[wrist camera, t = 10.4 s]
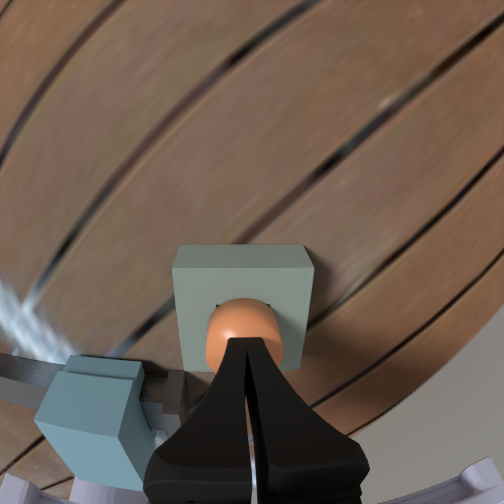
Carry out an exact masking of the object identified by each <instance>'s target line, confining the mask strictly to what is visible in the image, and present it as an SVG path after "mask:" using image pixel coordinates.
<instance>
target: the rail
mask: <svg viewBox="0 0 504 504" xmlns="http://www.w3.org/2000/svg"><path fill="white" fill-rule="evenodd" d="M64 367H65V365H60V364H54V363H48V362H42V361H36V360H31V359H26V358H20V357H16V356H11V355H6V354H2V353H0V399H2V400H5V401H8V402H11V403H15V404H18V405H22V406H25V407H29V408H33V409H37V410H39V408H40V405H41V403H42V401H43V399H44V397H45V395H46V393H47V391H48V389H49V387H50V385H51V383H52V381H53V379H54V377H55V375H56V373H57V371H61V372H62V370H63V368H64ZM139 401H140V404H141V407H142V409H143V412H144V415H145V418H146V421H147V424H148V427H149V429H156V430H166V432H167V435H168V438H170V437H171V436H172V435H173V434H174V433H175V432H176V430H177V429H178V428H179V427H180V426H181V425H182V424H183V423H184V422H185V421H186V420H187V418H188V417H189V416H190V413H191V407H190V401H189V395H188V389H187V383H186V376H185V371H180V370H169V373H168V375H153V374H145V376H144V380H143V384H142V388H141V392H140V396H139Z"/></svg>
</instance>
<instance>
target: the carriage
mask: <svg viewBox="0 0 504 504" xmlns="http://www.w3.org/2000/svg"><path fill="white" fill-rule="evenodd" d="M144 376H145V374H144V370H143V366H142V362H139V361H126V360H114V359H103V358H94V357H85V356H76V355H70V357H69V359H68V361H67V363H66V365H65V367H64V368H63V370H62V372H61V371H57V373H56V375H55V377H54V379H53V381H52V383H51V385H50V387H49V389H48V391H47V393H46V395H45V397H44V399H43V401H42V403H41V405H40V408H39V410H38V412H37V414H36V416H35V418H34V421H35V423H36V424H37V426H38V427H39V429H40V430H41V431H42V433H43V434H44V436H45V437H46V438H47V440H48V441H49V443H50V444H51V445H52V447H53V448H54V449H55V451H56V452H57V453H58V454H59V456H60V457H61V458H62V459H63V461H64V462H65V463H66V464H67V466H68V467H69V468H70V469H71V471H72V472H73V473H74V474H75V475H76V476H77V478H78V479H80V480H84V481H88V482H92V483H97V484H102V485H107V486H112V487H117V488H123V489H129V490H135V491H142V492H143V481H144V475H145V471H146V468H147V465H148V463H149V460H150V458H151V456H152V454H153V452H154V451H155V443H154V442H155V436H156V429H149V427H148V424H147V421H146V418H145V415H144V412H143V409H142V407H141V404H140V401H139V396H140V392H141V388H142V384H143V380H144Z"/></svg>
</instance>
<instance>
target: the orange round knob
mask: <svg viewBox="0 0 504 504" xmlns="http://www.w3.org/2000/svg"><path fill="white" fill-rule="evenodd" d="M230 337H261V338H263V340H264V342H265V345H266V347H267V349H268V351H269V353H270V355H271V357H272V359H273V360H274V362H275V364H276V365H277V367H279V366H280V364H281V362H282V360H283V356H284V350H283V345H282V340H281V335H280V331H279V326H278V321H277V318H276V315H275V313H274V312H273V310H272V309H271V308H270V307H269V306H267V305H266V304H265V303H263V302H261V301H258V300H255V299H250V298H237V299H232V300H229V301H227V302H224V303H223V304H221V305H219V306H218V307H217V308H216V309H215V310H214V311H213V312H212V314H211V316H210V318H209V322H208V330H207V342H206V361H207V364H208V365H209V367H210V368H211V370H212V371H213V372H214V373H217V371H218V369H219V366H220V364H221V362H222V359H223V356H224V353H225V350H226V346H227V340H228V339H229V338H230Z"/></svg>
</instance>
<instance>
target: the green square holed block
mask: <svg viewBox="0 0 504 504" xmlns="http://www.w3.org/2000/svg"><path fill="white" fill-rule="evenodd" d="M172 273H173V284H174V294H175V303H176V312H177V320H178V328H179V336H180V344H181V351H182V358H183V365H184V371H212V370H211V368H210V367H209V365H208V364H207V361H206V342H207V330H208V322H209V318H210V316H211V314H212V312H213V311H214V310H215V309H216V308H217V307H218V306H219V305H221V304H223V303H224V302H227V301H229V300H232V299H237V298H250V299H255V300H258V301H261V302H263V303H265V304H266V305H267V306H269V307H270V308H271V309H272V310H273V312H274V313H275V315H276V318H277V321H278V326H279V331H280V335H281V340H282V345H283V350H284V356H283V360H282V362H281V364H280V366H279V367H278V368H279V370H295V369H300V364H301V358H302V352H303V346H304V339H305V333H306V326H307V320H308V313H309V306H310V298H311V291H312V283H313V275H314V266H313V264H312V262H311V260H310V258H309V256H308V254H307V252H306V250H305V248H304V246H303V245H180V247H179V250H178V252H177V255H176V258H175V261H174V264H173V266H172ZM212 372H213V371H212Z"/></svg>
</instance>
